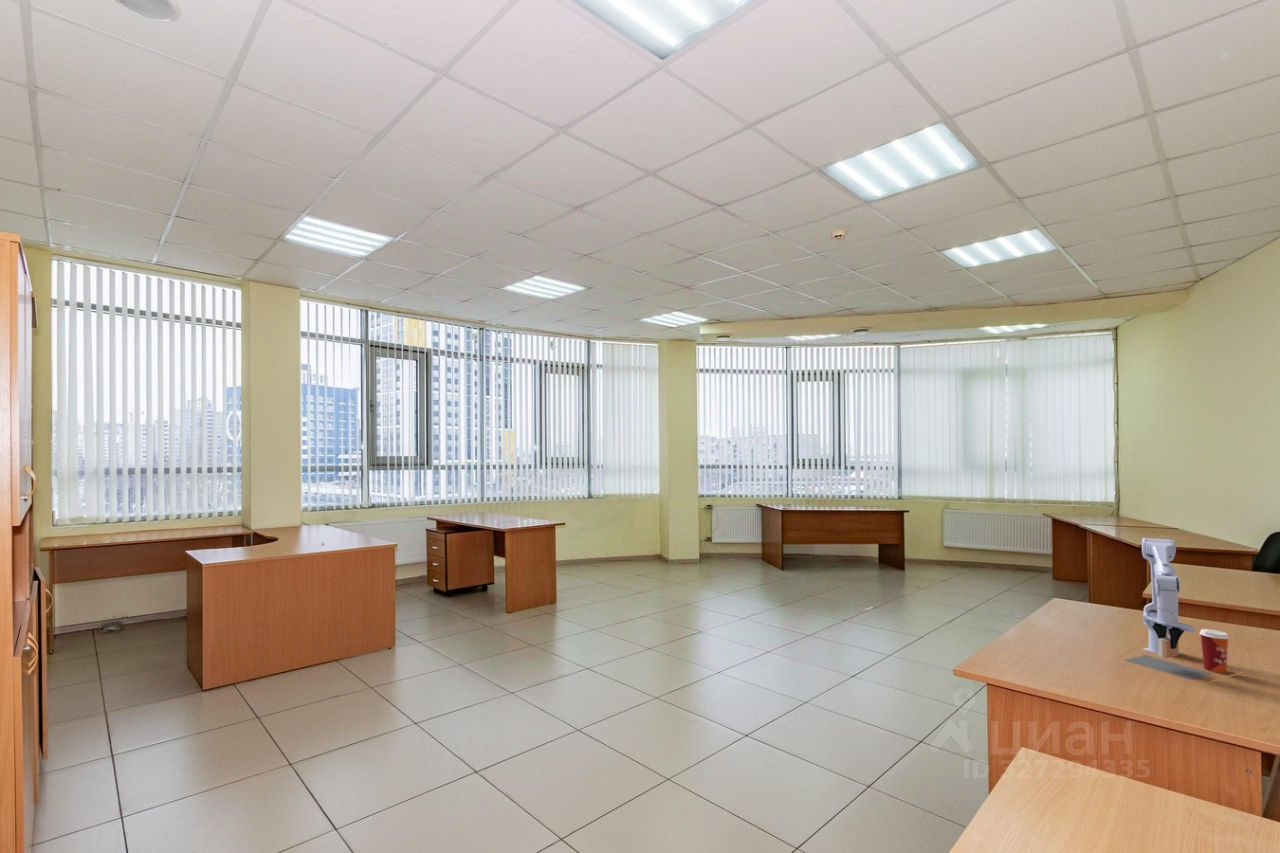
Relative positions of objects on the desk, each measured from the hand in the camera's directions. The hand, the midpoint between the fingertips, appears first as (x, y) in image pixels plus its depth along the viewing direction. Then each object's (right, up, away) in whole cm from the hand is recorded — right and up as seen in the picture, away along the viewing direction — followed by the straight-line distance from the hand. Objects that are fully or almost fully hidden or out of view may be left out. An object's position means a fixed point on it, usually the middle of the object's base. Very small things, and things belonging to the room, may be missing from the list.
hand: (1168, 647), depth 213 cm
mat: (0, -8, +1) cm, 8 cm away
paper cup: (+15, -8, -2) cm, 17 cm away
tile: (0, -3, 0) cm, 3 cm away
